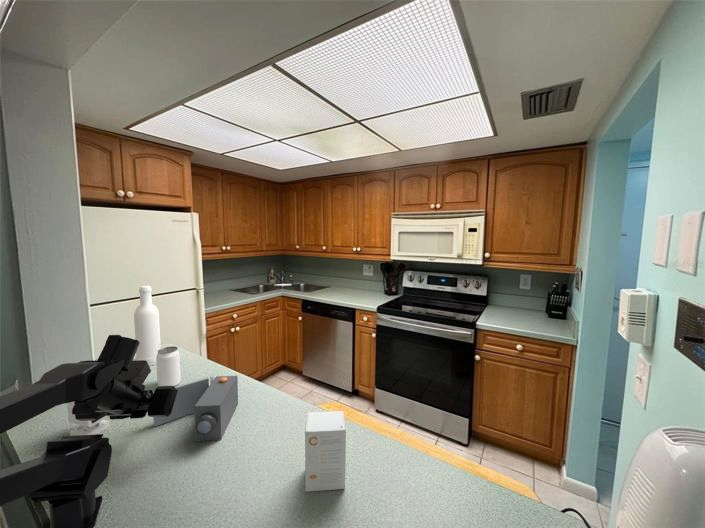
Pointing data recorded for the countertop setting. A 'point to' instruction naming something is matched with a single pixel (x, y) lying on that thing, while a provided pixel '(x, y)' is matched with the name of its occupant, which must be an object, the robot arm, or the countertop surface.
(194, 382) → the side door
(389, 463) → the countertop surface
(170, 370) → the can
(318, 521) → the countertop surface
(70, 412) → the security camera
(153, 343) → the bottle
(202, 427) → the camera body
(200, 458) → the countertop surface
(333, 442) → the small box
